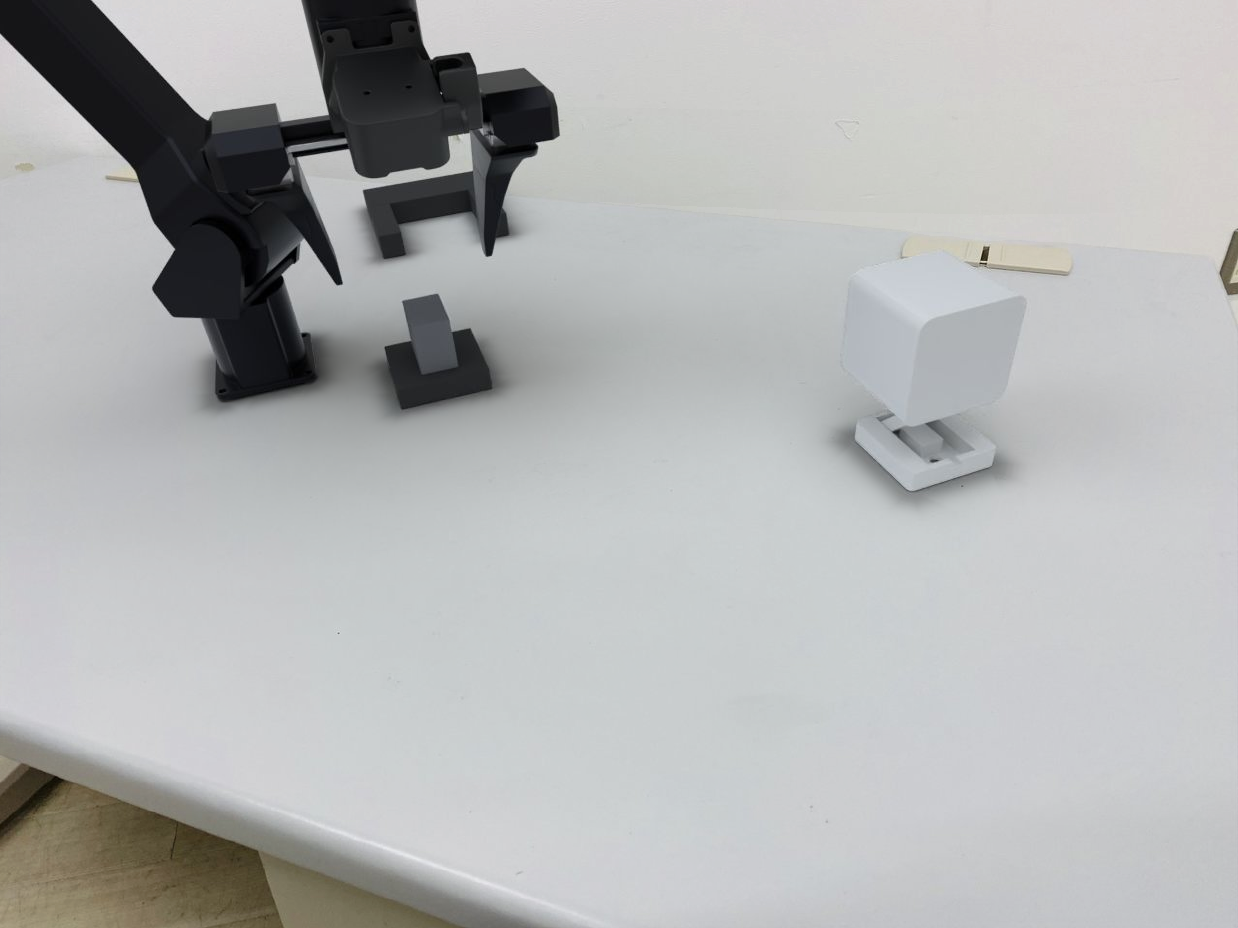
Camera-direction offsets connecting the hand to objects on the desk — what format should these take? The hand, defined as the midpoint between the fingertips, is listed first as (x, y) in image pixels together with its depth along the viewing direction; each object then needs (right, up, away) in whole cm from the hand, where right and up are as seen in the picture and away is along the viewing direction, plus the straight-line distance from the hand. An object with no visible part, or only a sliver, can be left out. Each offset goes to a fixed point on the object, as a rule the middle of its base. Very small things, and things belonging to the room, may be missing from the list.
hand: (414, 268), depth 55 cm
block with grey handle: (+1, -6, +5) cm, 8 cm away
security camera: (+29, -11, -4) cm, 32 cm away
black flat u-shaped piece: (-4, +10, +26) cm, 28 cm away
